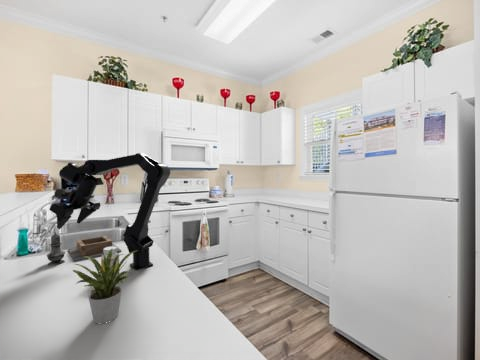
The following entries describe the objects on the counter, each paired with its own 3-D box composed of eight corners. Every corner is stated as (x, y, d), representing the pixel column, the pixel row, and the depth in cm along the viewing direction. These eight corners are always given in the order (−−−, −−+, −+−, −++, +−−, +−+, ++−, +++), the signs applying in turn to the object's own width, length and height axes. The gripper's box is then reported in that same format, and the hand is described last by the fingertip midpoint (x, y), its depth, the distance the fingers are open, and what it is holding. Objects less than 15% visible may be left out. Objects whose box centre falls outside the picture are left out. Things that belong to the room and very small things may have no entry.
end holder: (121, 251, 106) (121, 241, 106) (74, 261, 95) (74, 249, 95) (110, 242, 120) (109, 233, 119) (68, 250, 108) (68, 239, 108)
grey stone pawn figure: (57, 265, 91) (56, 234, 90) (42, 265, 91) (41, 234, 91) (69, 260, 97) (68, 230, 96) (54, 260, 97) (53, 230, 96)
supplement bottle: (117, 278, 80) (117, 249, 80) (99, 280, 79) (99, 251, 78) (120, 271, 86) (120, 244, 85) (103, 273, 84) (103, 246, 84)
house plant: (125, 293, 70) (124, 238, 70) (151, 311, 61) (150, 247, 61) (67, 316, 59) (65, 251, 59) (88, 342, 50) (86, 265, 50)
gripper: (85, 179, 102) (71, 211, 104) (45, 181, 84) (28, 220, 85) (107, 191, 101) (92, 224, 103) (72, 196, 83) (54, 236, 84)
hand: (68, 225), depth 94 cm, fingers open, 9 cm apart
